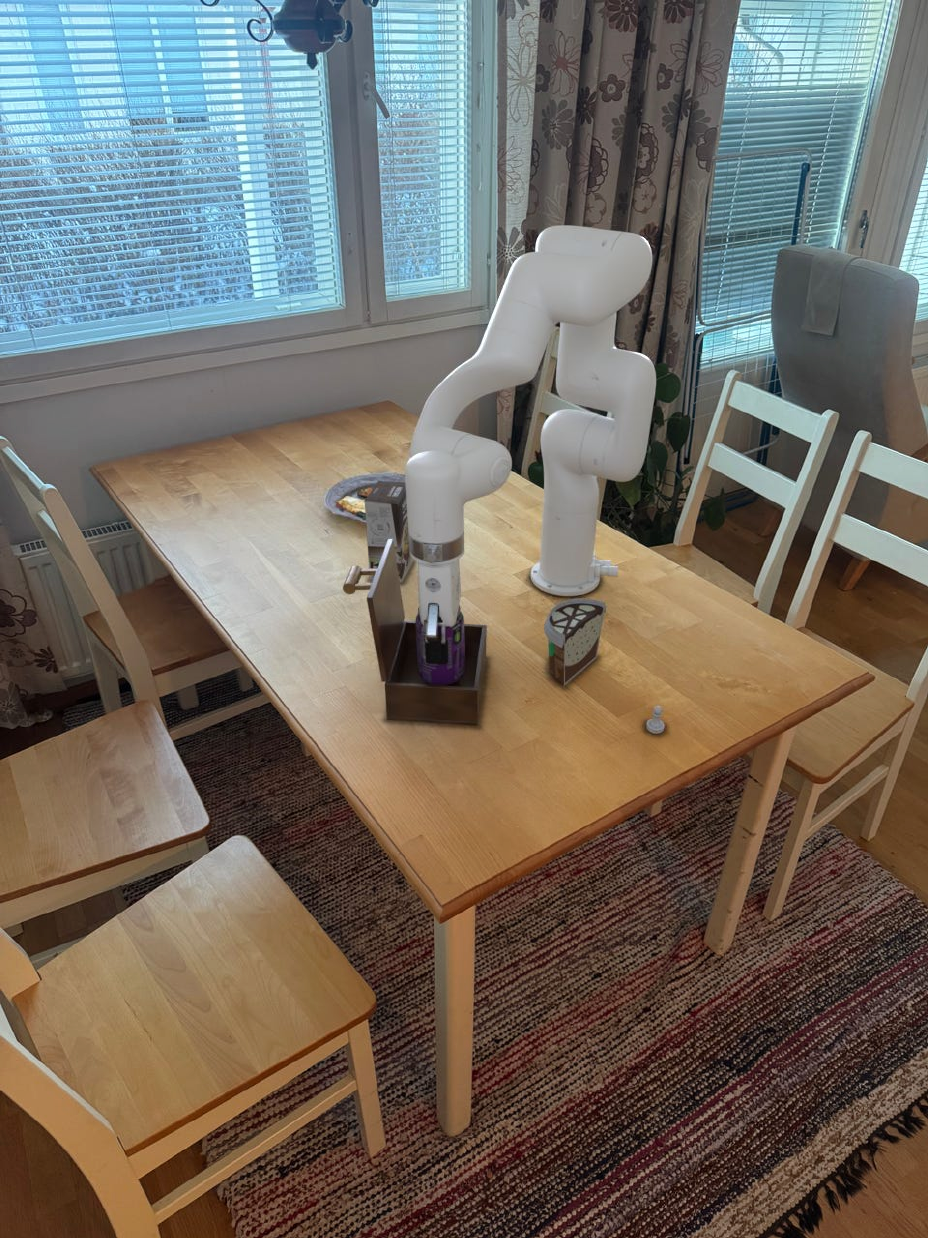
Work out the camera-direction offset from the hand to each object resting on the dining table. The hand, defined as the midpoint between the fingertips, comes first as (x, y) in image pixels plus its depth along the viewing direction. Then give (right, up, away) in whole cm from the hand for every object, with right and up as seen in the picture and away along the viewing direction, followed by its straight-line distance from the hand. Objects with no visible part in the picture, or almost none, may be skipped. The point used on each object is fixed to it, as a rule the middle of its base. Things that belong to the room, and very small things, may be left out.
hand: (440, 646), depth 126 cm
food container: (+19, -3, +9) cm, 22 cm away
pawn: (+31, -12, -4) cm, 33 cm away
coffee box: (-10, +13, +33) cm, 37 cm away
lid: (-7, +5, -4) cm, 10 cm away
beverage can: (0, -5, +3) cm, 6 cm away
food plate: (-13, +28, +55) cm, 63 cm away
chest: (0, -7, +4) cm, 8 cm away
